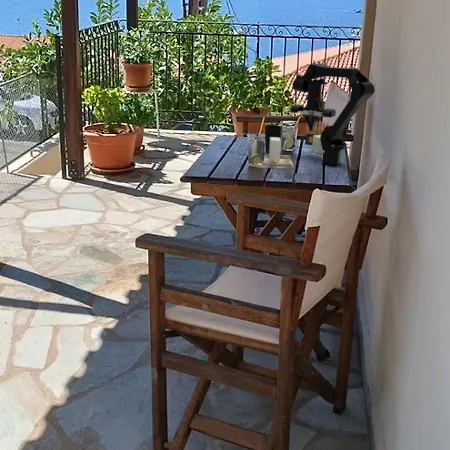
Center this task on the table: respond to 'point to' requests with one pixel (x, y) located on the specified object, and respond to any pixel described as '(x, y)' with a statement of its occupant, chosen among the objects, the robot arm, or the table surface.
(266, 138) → the cup
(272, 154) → the gauge slider
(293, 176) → the table surface
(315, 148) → the skincare box
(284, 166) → the frame
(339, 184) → the table surface
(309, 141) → the ammunition clip
